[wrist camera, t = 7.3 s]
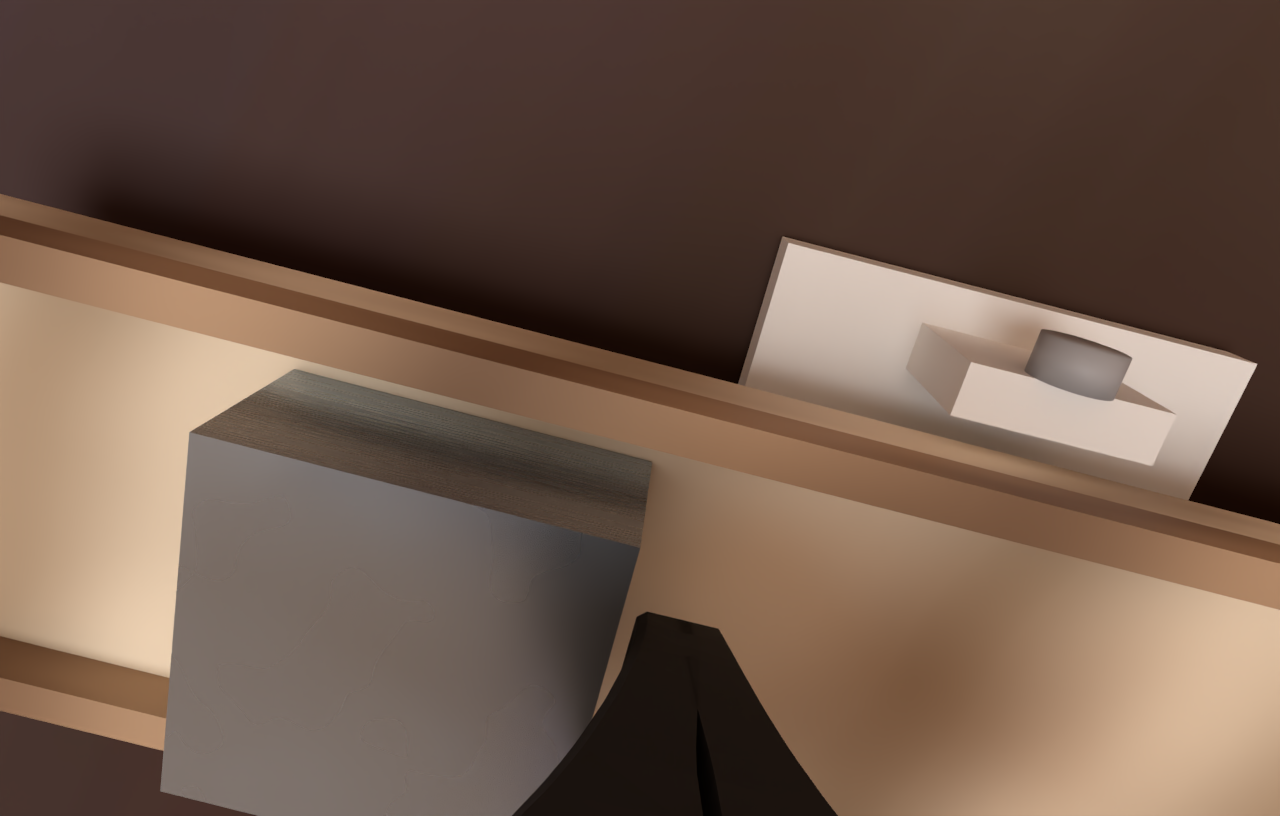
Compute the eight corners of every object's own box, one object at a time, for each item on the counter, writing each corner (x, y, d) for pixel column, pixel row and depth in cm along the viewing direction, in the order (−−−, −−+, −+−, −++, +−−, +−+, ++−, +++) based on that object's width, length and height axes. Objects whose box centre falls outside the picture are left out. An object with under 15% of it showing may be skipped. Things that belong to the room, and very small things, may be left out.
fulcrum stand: (989, 832, 18) (1063, 996, 15) (628, 749, 18) (617, 897, 14) (1227, 351, 15) (1394, 421, 11) (782, 236, 14) (817, 272, 11)
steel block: (572, 750, 13) (544, 886, 11) (257, 670, 13) (160, 790, 11) (652, 461, 12) (640, 548, 9) (294, 368, 11) (189, 432, 9)
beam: (2057, 722, 13) (2284, 821, 11) (1742, 1048, 15) (1885, 1174, 13) (-48, 180, 12) (-178, 188, 10) (-41, 605, 14) (-146, 674, 13)
